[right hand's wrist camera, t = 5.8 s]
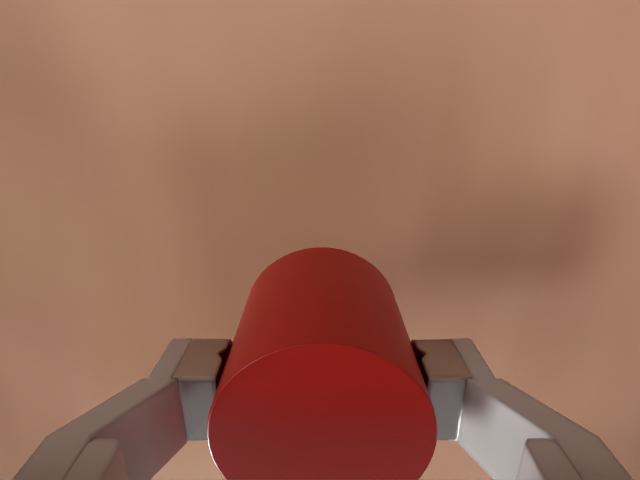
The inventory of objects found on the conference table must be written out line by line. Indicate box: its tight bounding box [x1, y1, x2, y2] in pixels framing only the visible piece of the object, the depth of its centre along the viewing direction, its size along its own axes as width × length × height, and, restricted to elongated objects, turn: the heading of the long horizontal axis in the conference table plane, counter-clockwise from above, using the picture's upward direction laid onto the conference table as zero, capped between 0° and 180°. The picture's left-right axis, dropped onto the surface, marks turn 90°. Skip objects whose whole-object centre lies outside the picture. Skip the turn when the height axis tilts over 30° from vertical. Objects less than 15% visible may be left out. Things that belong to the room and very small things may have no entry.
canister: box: [207, 248, 437, 480], centre depth 10 cm, size 5×5×5 cm
